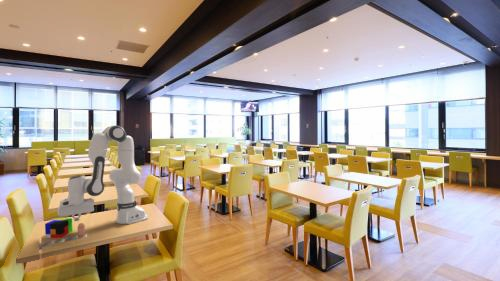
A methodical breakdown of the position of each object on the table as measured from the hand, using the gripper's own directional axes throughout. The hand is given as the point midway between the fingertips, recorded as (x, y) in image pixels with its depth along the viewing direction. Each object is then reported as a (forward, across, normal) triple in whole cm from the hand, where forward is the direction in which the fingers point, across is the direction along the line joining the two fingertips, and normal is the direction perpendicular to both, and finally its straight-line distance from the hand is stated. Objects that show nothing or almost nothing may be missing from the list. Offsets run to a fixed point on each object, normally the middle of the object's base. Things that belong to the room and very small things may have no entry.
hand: (76, 220), depth 176 cm
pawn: (+7, -2, +12) cm, 14 cm away
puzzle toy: (+8, +10, 0) cm, 13 cm away
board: (+8, +7, +12) cm, 16 cm away
